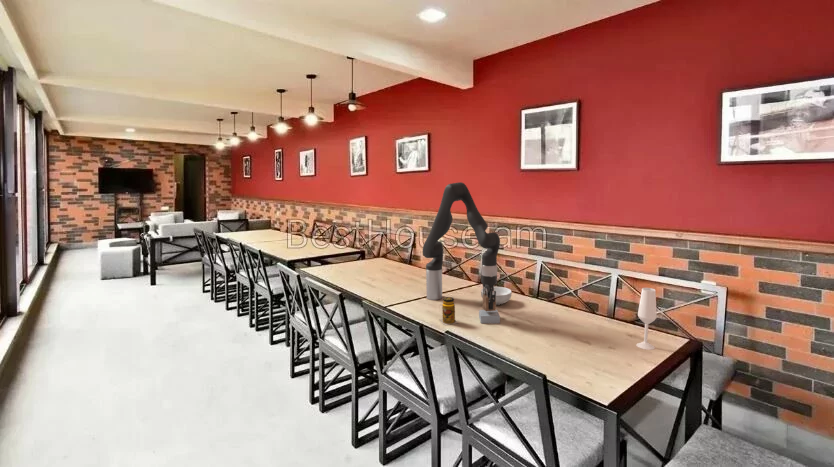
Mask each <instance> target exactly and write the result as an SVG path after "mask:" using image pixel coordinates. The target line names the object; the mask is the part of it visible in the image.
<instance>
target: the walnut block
mask: <svg viewBox="0 0 834 467" xmlns="http://www.w3.org/2000/svg"><path fill="white" fill-rule="evenodd" d="M489 296H490V295H489ZM491 300H492V298H491ZM496 307H497V305H496V297H495V302H493V310H489V309H488V297H487V295H485V294H483V298H482V310H485V311H496V310H497V309H496Z"/></svg>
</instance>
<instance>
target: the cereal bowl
mask: <svg viewBox="0 0 834 467" xmlns="http://www.w3.org/2000/svg"><path fill="white" fill-rule="evenodd" d="M493 287H494V291H496V306H499V305H500V304H501V305H503V304H505V303H507V302H509V301H510V300H511V297H512V290H511V289H510V288H508V287H505V286H504V287H503V286H493ZM480 296H481V298H482V299H483V288H482V289H481V290H480ZM501 305H500V306H501Z"/></svg>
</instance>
